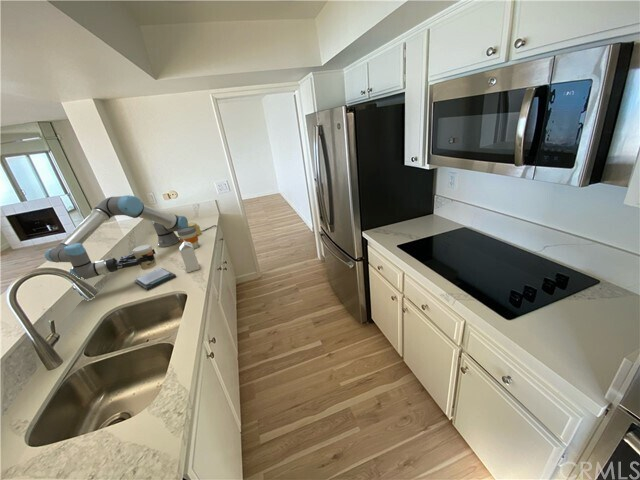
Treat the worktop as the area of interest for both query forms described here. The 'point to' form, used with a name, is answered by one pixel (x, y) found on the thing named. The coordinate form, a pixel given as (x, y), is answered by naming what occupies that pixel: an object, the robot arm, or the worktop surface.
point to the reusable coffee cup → (189, 235)
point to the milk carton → (189, 256)
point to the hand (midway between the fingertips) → (154, 254)
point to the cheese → (196, 228)
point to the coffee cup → (143, 252)
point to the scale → (154, 278)
